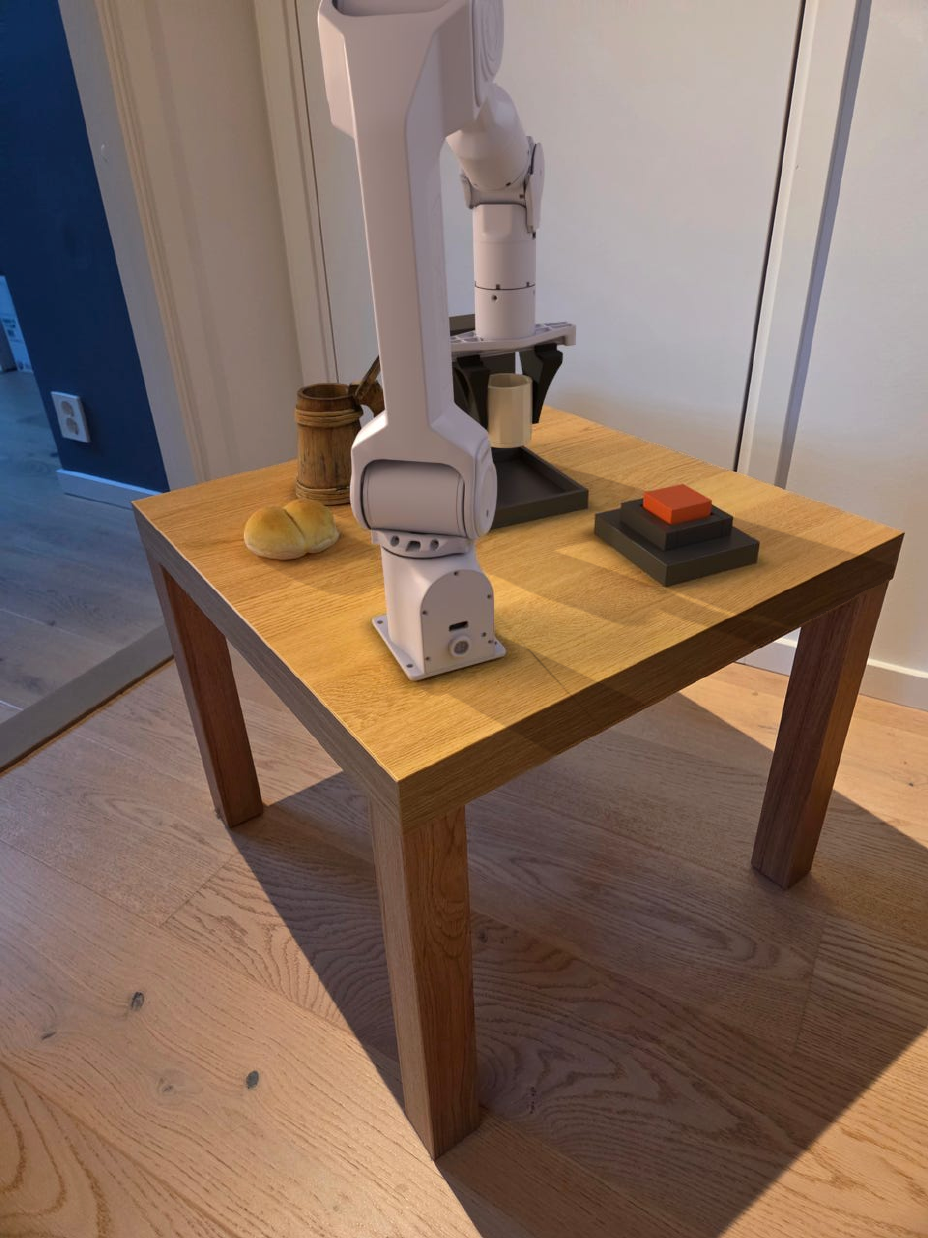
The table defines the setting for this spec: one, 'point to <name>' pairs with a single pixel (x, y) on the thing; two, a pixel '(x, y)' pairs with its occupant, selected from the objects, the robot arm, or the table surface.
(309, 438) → the wooden mug
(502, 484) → the tray
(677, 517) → the button
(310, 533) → the bread roll
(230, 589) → the table surface
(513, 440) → the cream cup
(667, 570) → the control block
